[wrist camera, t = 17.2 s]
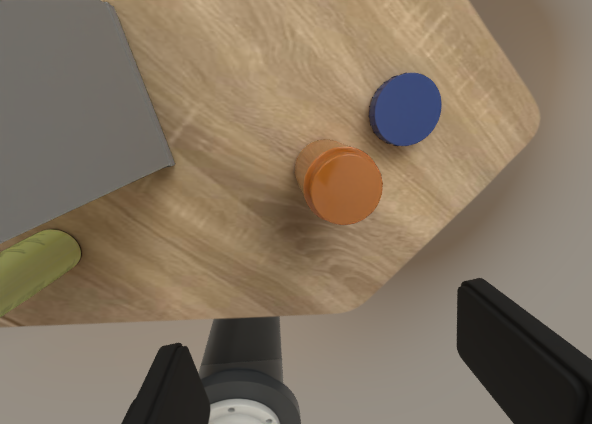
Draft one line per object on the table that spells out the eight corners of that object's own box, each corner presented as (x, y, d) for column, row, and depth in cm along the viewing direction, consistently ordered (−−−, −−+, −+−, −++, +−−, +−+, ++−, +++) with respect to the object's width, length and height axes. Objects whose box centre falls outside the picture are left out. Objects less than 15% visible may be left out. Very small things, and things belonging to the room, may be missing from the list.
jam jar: (351, 197, 31) (383, 228, 23) (294, 198, 31) (305, 231, 22) (354, 138, 29) (392, 147, 20) (294, 139, 29) (305, 149, 20)
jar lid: (371, 74, 28) (377, 71, 26) (437, 74, 28) (447, 72, 27) (366, 145, 30) (371, 147, 28) (427, 144, 30) (436, 146, 29)
